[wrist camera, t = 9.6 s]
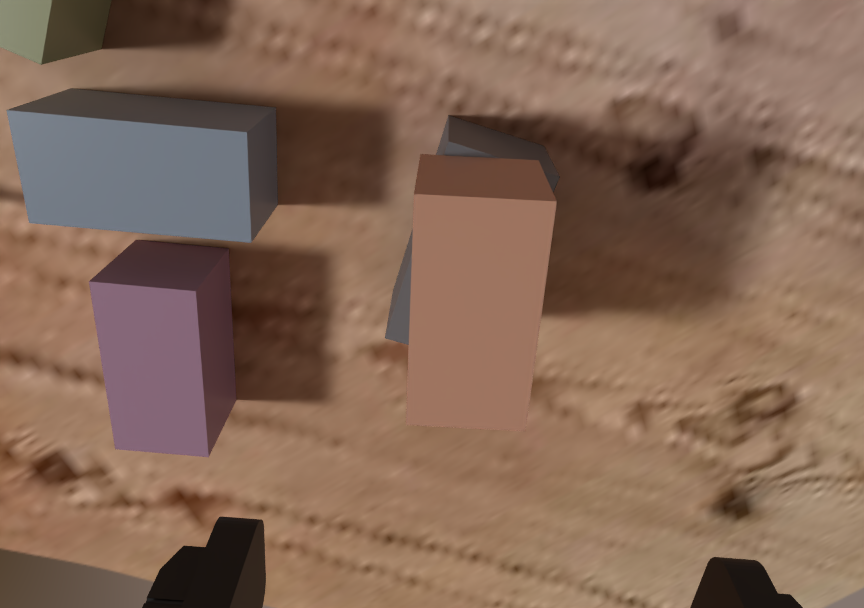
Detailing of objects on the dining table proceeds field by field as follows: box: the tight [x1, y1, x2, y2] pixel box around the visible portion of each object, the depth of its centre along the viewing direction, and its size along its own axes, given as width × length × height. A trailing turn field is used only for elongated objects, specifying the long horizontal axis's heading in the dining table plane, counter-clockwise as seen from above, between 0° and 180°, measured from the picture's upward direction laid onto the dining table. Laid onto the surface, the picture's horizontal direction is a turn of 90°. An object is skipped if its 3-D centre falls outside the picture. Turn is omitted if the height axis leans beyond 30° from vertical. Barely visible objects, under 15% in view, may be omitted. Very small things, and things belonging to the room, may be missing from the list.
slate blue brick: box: [7, 89, 278, 243], centre depth 25 cm, size 8×4×4 cm, turn 85°
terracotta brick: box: [406, 154, 557, 431], centre depth 22 cm, size 8×4×4 cm, turn 177°
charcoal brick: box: [385, 115, 560, 345], centre depth 26 cm, size 8×4×4 cm, turn 163°
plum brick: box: [89, 240, 236, 457], centre depth 29 cm, size 8×4×4 cm, turn 175°
